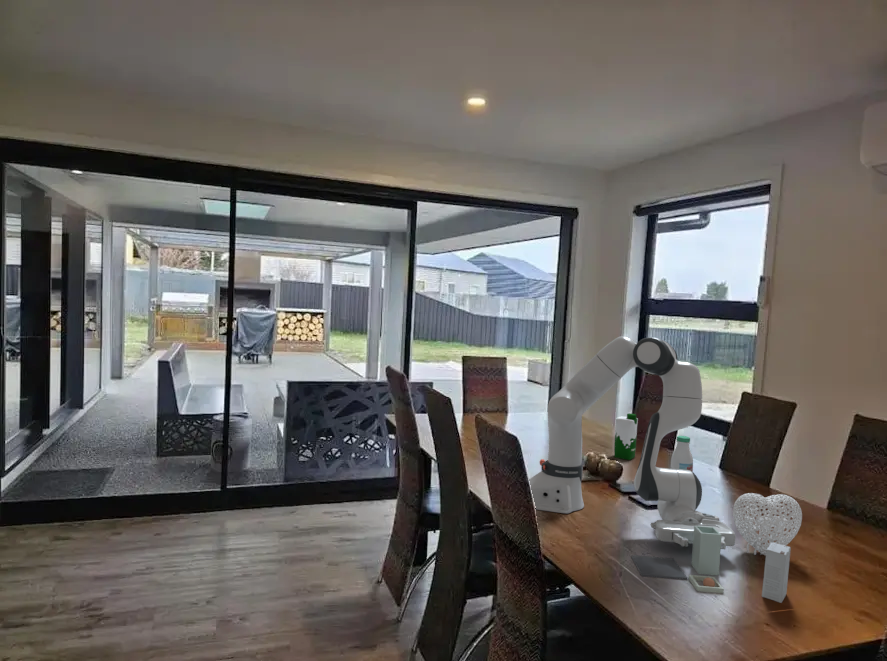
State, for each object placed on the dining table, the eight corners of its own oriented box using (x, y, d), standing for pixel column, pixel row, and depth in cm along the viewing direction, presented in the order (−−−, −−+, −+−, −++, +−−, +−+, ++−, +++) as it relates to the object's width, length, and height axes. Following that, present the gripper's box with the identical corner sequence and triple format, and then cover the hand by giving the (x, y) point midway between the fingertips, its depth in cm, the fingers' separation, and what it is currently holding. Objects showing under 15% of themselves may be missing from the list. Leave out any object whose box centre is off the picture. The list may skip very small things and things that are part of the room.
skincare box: (766, 589, 138) (769, 540, 138) (787, 596, 135) (791, 546, 135) (760, 599, 133) (764, 548, 133) (782, 606, 131) (786, 554, 130)
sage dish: (697, 594, 135) (697, 586, 135) (688, 582, 141) (688, 574, 141) (723, 596, 134) (723, 588, 134) (713, 584, 140) (714, 576, 140)
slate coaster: (641, 578, 141) (641, 574, 141) (630, 558, 152) (631, 554, 152) (687, 581, 140) (687, 577, 140) (673, 561, 151) (673, 558, 151)
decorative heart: (785, 548, 164) (789, 489, 163) (808, 565, 153) (813, 502, 152) (722, 545, 164) (726, 486, 163) (741, 561, 153) (745, 499, 152)
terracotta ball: (701, 588, 137) (706, 584, 135) (700, 578, 139) (706, 574, 137) (711, 592, 136) (717, 588, 135) (711, 582, 138) (716, 578, 137)
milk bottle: (669, 490, 212) (672, 437, 212) (669, 484, 220) (672, 433, 219) (691, 493, 210) (695, 440, 209) (691, 488, 217) (694, 436, 216)
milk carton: (631, 461, 252) (633, 416, 251) (611, 457, 257) (613, 413, 257) (637, 457, 259) (640, 413, 258) (617, 453, 265) (620, 410, 264)
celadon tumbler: (698, 575, 144) (700, 533, 144) (691, 566, 149) (694, 525, 149) (718, 577, 144) (721, 534, 143) (711, 568, 149) (713, 527, 148)
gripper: (649, 511, 163) (663, 530, 149) (723, 516, 161) (745, 536, 147) (648, 533, 163) (662, 554, 149) (722, 538, 161) (743, 559, 147)
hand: (704, 545), depth 148 cm, fingers open, 8 cm apart
